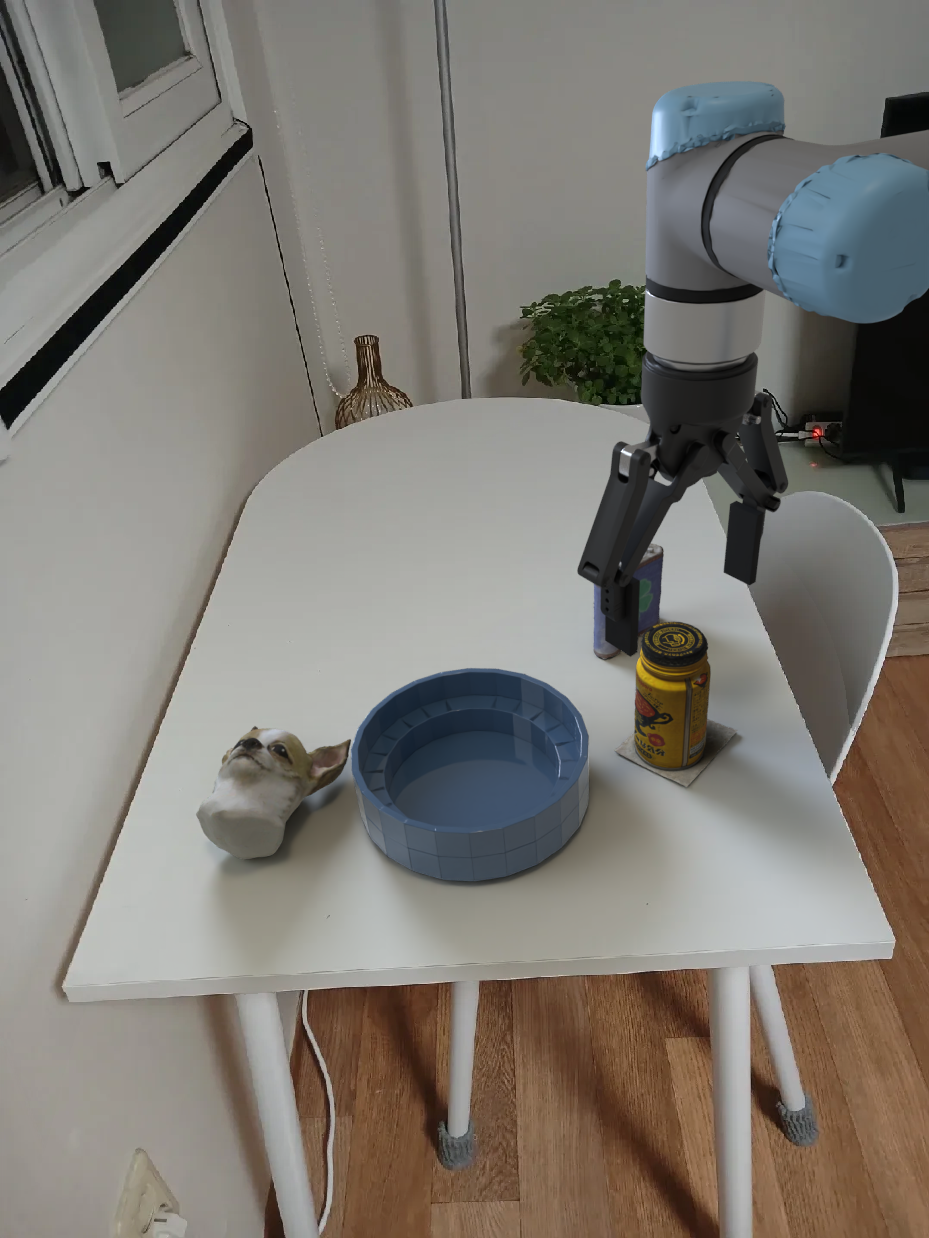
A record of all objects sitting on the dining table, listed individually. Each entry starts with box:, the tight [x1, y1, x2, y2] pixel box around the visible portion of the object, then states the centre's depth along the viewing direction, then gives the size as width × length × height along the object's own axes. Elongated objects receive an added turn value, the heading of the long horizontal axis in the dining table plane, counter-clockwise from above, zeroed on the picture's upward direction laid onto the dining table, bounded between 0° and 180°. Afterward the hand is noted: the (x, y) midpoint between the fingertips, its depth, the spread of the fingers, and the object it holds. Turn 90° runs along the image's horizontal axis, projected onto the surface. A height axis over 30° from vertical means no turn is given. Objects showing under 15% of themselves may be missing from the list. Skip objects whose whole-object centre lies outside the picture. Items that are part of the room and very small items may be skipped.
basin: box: [350, 667, 590, 882], centre depth 79 cm, size 19×19×6 cm
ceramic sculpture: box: [195, 725, 352, 860], centre depth 79 cm, size 11×9×15 cm
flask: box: [593, 542, 665, 660], centre depth 94 cm, size 9×3×11 cm, turn 133°
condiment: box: [613, 621, 738, 788], centre depth 80 cm, size 7×8×12 cm
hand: (682, 610), depth 76 cm, fingers open, 13 cm apart
